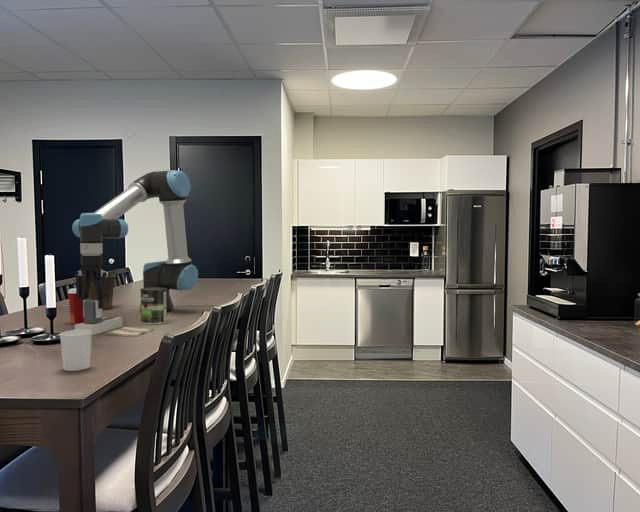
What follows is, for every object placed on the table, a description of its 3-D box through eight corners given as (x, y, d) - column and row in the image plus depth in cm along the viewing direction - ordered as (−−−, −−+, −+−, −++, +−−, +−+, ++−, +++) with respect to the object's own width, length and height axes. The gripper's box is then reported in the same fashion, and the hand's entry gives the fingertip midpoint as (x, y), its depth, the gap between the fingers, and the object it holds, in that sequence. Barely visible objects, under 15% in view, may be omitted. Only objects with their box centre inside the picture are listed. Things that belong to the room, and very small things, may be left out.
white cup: (67, 364, 146) (67, 329, 146) (96, 364, 147) (95, 329, 146) (55, 372, 138) (55, 335, 138) (86, 371, 139) (85, 335, 139)
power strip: (107, 326, 205) (107, 315, 204) (122, 327, 203) (122, 316, 203) (74, 335, 187) (74, 323, 187) (91, 336, 185) (90, 324, 185)
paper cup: (92, 321, 213) (91, 288, 212) (82, 324, 206) (81, 290, 205) (74, 321, 214) (74, 287, 213) (63, 324, 206) (63, 289, 206)
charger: (93, 326, 195) (92, 300, 194) (102, 326, 194) (102, 300, 193) (84, 328, 190) (83, 301, 189) (93, 329, 189) (92, 302, 188)
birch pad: (125, 328, 198) (125, 326, 198) (153, 330, 195) (153, 328, 195) (105, 335, 186) (105, 332, 186) (135, 336, 183) (135, 334, 183)
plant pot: (122, 308, 247) (122, 275, 246) (88, 312, 235) (87, 277, 234) (107, 305, 258) (107, 273, 257) (74, 308, 246) (73, 275, 245)
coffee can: (155, 325, 205) (155, 290, 204) (135, 323, 209) (134, 289, 208) (172, 321, 214) (171, 287, 214) (152, 319, 218) (152, 286, 218)
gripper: (64, 254, 188) (65, 317, 190) (105, 255, 184) (107, 319, 185) (78, 253, 196) (79, 314, 197) (118, 254, 191) (119, 316, 193)
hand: (92, 317), depth 191 cm, fingers open, 4 cm apart
